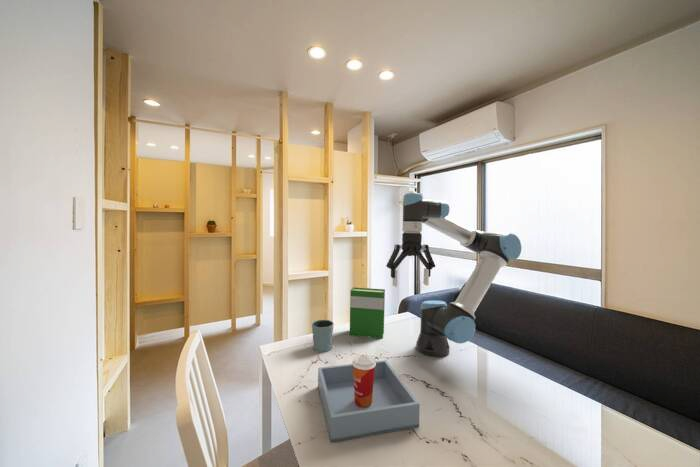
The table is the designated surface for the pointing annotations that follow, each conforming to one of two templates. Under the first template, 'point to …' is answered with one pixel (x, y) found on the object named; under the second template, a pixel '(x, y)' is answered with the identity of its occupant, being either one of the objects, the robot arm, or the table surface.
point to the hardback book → (367, 312)
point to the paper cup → (363, 379)
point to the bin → (356, 422)
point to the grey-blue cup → (322, 335)
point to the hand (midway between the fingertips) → (410, 285)
